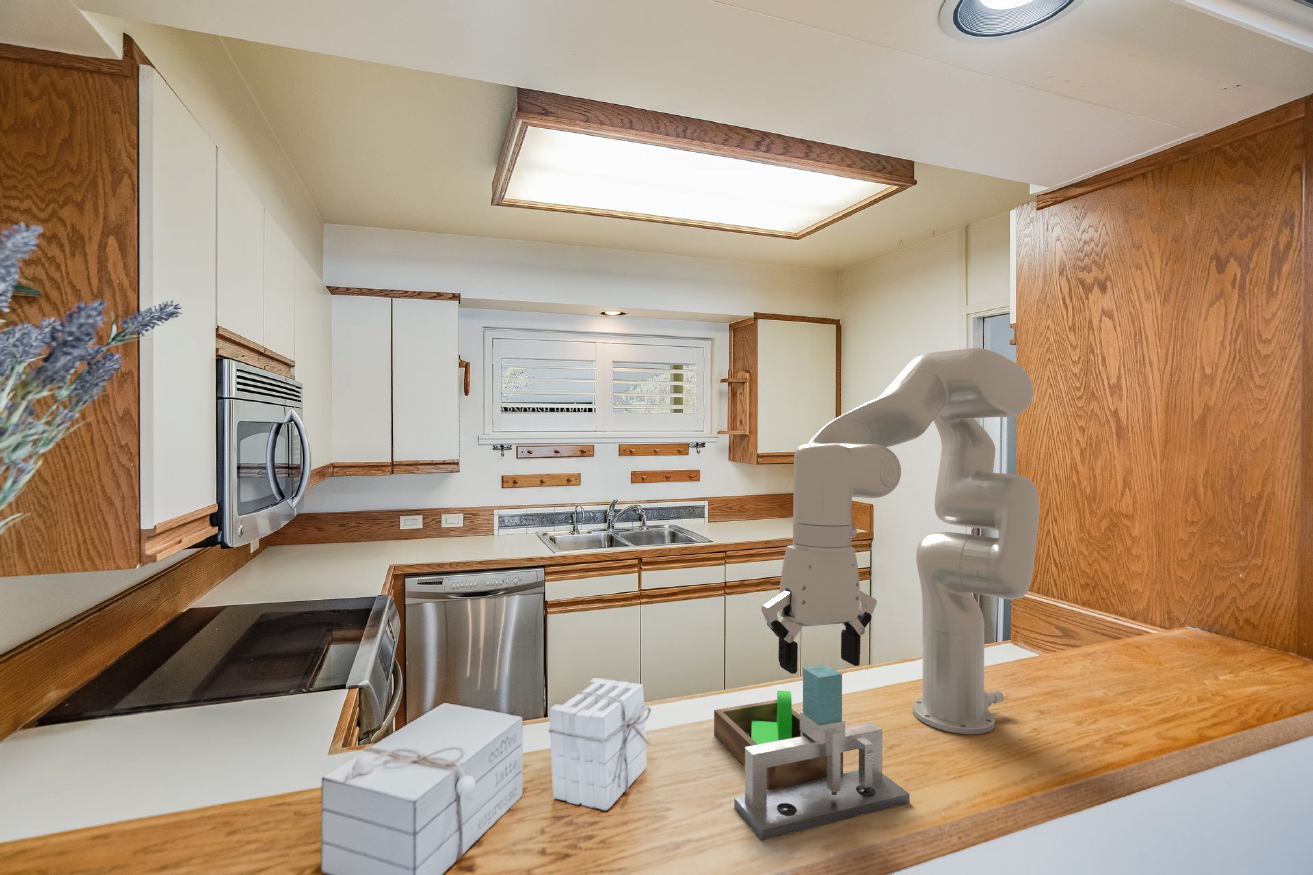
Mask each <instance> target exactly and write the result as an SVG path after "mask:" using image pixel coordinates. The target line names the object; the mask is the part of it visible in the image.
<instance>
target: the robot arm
mask: <svg viewBox="0 0 1313 875" xmlns="http://www.w3.org/2000/svg"><path fill="white" fill-rule="evenodd" d="M1033 387H1034V386H1033V382H1032V379H1031V378H1030V375H1029V373H1028V372H1027V371H1026V370H1025V369H1024V367H1022V366H1021V365H1019V363H1016V362H1014V361H1012V360H1010V359H1009V358H1007V357H1006V356H1004V355H1002V354H1000V353H998V352H995V351H992V350H990V349H987V348H981V347H975V348H974V347H972V348H970V347H969V348H963V349H962V348H961V349H953V350H945V351H943V350H941V351H935V352H928V353H923V354H921V355H919V356H917V357H914V358H913V359H912V360H911V361H909V363H908V364H907V365H906V366H905V367H904V368H903V370H902V371H901V372H900V373H899V374H898V375H897V376H896V378H895V379H894V380H893V381H892V382H891V383H890V385H888V386H887V387H886V389H885V390H884V391H883V393H881V395H879V396H878V397H877V398H875V399H872V400H869V401H867V402H865V403H863V404H861V405H860V406H857V407H855V408H853V409H852V410H850V411H848V412H846V413H844V414H842V415H840V416H838V417H836V418H835V419H833V420H832V421H830V422H828V423H827V424H825V425H824V426H823V427H822V428H821V429H820V430H819V431H818V432H817V433H816V434H815V436H813V437H812V438H811V439H810V441H809V442H808V443H806V444H802V445H799V446H798V447H797V448H796V450H795V452H794V458H793V460H794V461H793V499H792V500H793V503H792V504H793V505H792V510H793V514H792V519H793V521H792V545H787V546H786V549H785V553H784V557H783V562H782V568H781V575H780V585H779V593H778V595H777V596H775V597H774V598H772V599H771V600H769V601H768V602H766V603H765V604H763V605H762V606H761V613H762V615H763V617H764V619H765V622H766V624H767V627H768V628H769V629H770V630H771V632H773V633H774V635H775V636H776V637H777V638H778V657H777V658H778V662H779V667H780V668H782V669H783V670H785V671H786V672H788V673H790V674H791V675H794V674H796V673H797V672H798V660H799V659H798V657H799V656H798V654H799V653H798V650H799V649H798V648H799V645H798V642H796V641H794V640H795V638H796V637H797V636H798V634H799V633H800V631H801V630H802V628H803V627H817V626H830V625H840V624H842V625H843V627H844V629H841V633H840V659H841V660H843V661H844V662H847V663H849V664H850V665H852V666H855V667H858V666H859V667H860V665H861V636H863V635H865V632H866V627H867V626H868V624H869V623H871V621H872V618H873V617H872V614H873V613H874V610H875V608H876V606H877V603H878V602H877V599H876V598H874V597H872V596H870V595H869V594H867V593H865V592H863V591H861V588H860V575H859V567H858V566H859V565H858V561H857V555H856V550H855V548H854V547H852V538H856V536H857V535H858V531H857V528H856V527H854V526H852V516H853V515H852V514H853V513H852V505H853V504H852V503H853V500H852V499H853V498H861V499H864V498H866V499H880V498H881V497H882V498H883V497H885V496H887V495H889V494H890V493H892V492H893V491H894V490H895V489H896V488H897V486H898V485H899V483H900V480H901V476H902V467H901V466H902V465H901V463H900V460H899V458H898V456H897V455H896V454H895V452H893V450H891V449H890V448H889V447H894V446H898V445H900V444H904V443H907V442H910V441H913V440H916V439H918V438H919V437H921V436H922V435H923V434H924V433H925V432H926V431H927V430H928V428H929V426H930V425H931V424H932V422H933V423H934V424H935V428H936V430H937V432H938V435H939V438H940V442H941V454H940V460H939V468H938V474H937V481H936V487H935V488H936V489H935V493H934V494H935V495H934V511H935V515H936V517H937V518H938V519H939V520H940V521H941V522H944V523H946V524H949V525H953V526H959V527H965V528H974V529H983V530H992V531H998V537H994V536H993V537H992V536H984V535H977V534H971V533H970V534H969V533H960V532H952V531H938V532H932V533H929V534H927V535H925V536H924V537H923V538H922V539H921V540H920V541H919V543H918V545H917V548H916V553H915V555H916V557H915V558H916V560H915V561H916V567H917V572H918V577H919V582H920V589H921V590H920V591H921V602H922V604H921V605H922V697H920V698H917V699H916V700H915V701H914V702H913V704H912V712H913V714H914V717H916V718H917V719H918V720H919V721H921V722H922V723H924V724H926V725H928V726H929V727H933V728H935V729H938V730H941V731H943V732H944V731H945V732H949V733H953V734H961V735H982V734H985V733H988V732H991V731H993V729H994V728H995V727H996V725H995V724H996V720H995V717H994V714H992V713H991V711H989V707H991V706H992V705H995V704H999V703H1003V702H1004V701H1005V696H1004V694H1003V693H1002V691H1000V690H994V691H989V692H987V691H986V690H985V618H984V615H983V611H982V609H981V608H980V605H979V603H978V601H977V600H976V599H975V597H974V595H973V594H976V595H983V596H987V597H992V598H998V599H1005V600H1019V599H1021V598H1023V597H1025V596H1026V594H1027V593H1028V592H1029V590H1030V588H1031V585H1032V581H1033V576H1034V569H1035V560H1036V549H1037V543H1038V542H1037V541H1038V534H1039V533H1038V532H1039V524H1040V512H1041V501H1040V495H1039V492H1038V488H1037V486H1036V485H1035V483H1034V482H1033V481H1032V480H1031V479H1030V478H1029V477H1027V476H1024V475H1021V474H1015V473H1000V472H994V468H995V457H996V445H995V443H994V441H993V440H992V437H991V436H990V434H989V433H988V432H987V430H986V429H985V428H984V427H983V426H982V425H981V424H980V423H979V422H978V421H977V419H978V418H983V419H984V418H1008V417H1009V418H1010V417H1012V418H1013V417H1016V416H1020V415H1022V414H1024V412H1025V411H1027V410H1028V408H1029V407H1030V405H1031V404H1032V400H1033V396H1034V388H1033ZM778 612H779V616H781V617H782V619H781V621H780V619H779V616H778Z"/></svg>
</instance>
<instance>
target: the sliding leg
mask: <svg viewBox="0 0 1313 875" xmlns="http://www.w3.org/2000/svg"><path fill="white" fill-rule="evenodd" d="M799 715H800V730H801V736H806V735H808V736H809V737H810V738H811V739H813V740H814V741H815V742H817V743H818V744H819V745H820V744H825V743H827V788H828V789H829V790H831V794H832V795H837V791H841V740H845V728H846V720H844V719H843V674H842V673H841V672H839V671H837V670H836V669H834V668H832V667H830V666H828V665H827V664H821V665H820V664H819V665H816V666H815V665H813V666H809V667H808V666H807V667H802V711H799Z"/></svg>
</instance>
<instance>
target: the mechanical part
mask: <svg viewBox="0 0 1313 875" xmlns="http://www.w3.org/2000/svg"><path fill="white" fill-rule="evenodd" d="M776 694H777V697H776V700H777V722H765V721H752V731H751V736H750V738H752V739H753V740H754V741H755V742H756V743H757V744H758V745H759V744H765V743H770V742H775V741H780V740H785V739H791V738H792V709H793V707H792V706H793V705H792V702H793V701H792V691H790V690H789V691H788V690H777V693H776Z"/></svg>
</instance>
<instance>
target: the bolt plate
mask: <svg viewBox="0 0 1313 875" xmlns="http://www.w3.org/2000/svg"><path fill="white" fill-rule="evenodd" d="M910 795H911V794H910V793H909V792H908V791H907V790H905V789H904V788H903V787H902V786H900V785H899V784H897V783H896V782H895V781H893V780H892V779H890V778H889V777H888V776H886V775H885V774H884V773H882V779H881V780H877V781H872V786H871V787H869V789H864V788H863V787H862V785H860V784H859V769H858V770H853V771H849V772H845V773H844V772H843V774H841V791H837V795H832V794H831V790H829V789H828V788H827V777H826V778H821V779H817V780H812V781H808V782H803V783H799V784H794V785H790V786H785V787H781V788H776V789H772V790H767V806H765V807H760V808H756V809H752V808H751V807H750V806H749V805H748V803H747V802H746V801H745V795H741V796H737V797H734V799H733V801H734V802H733V803H734V804H733V806H734V808H735V810H736V811H737V812H738V813H739V814H740V816H741V817H742V818H743V819H744V821H745V822H746V823H747V825H748V826H750V828H751V829H752V830H753V831H754V833H755V834H756V835H757V836H758V837H759V839H760V840H761V841H764V840H769V839H772V838H775V837H781V836H783V835H788V834H791V833H796V832H799V831H803V830H808V829H811V828H816V827H819V826H824V825H827V824H831V823H835V822H840V821H843V820H848V819H852V818H855V817H856V818H857V817H858V816H859V817H860V816H863V815H867V814H871V813H875V812H878V811H883V810H886V809H890V808H894V807H898V806H903V805H906V804H909V803H910V798H911V796H910Z"/></svg>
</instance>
